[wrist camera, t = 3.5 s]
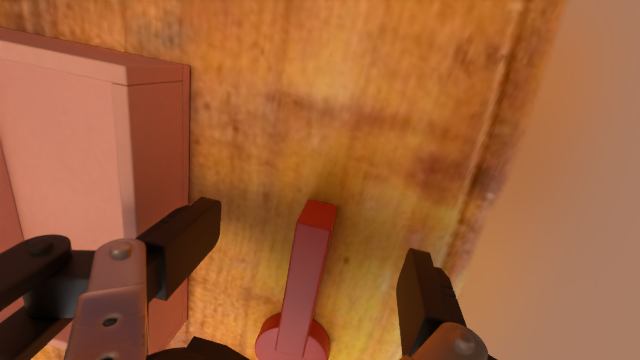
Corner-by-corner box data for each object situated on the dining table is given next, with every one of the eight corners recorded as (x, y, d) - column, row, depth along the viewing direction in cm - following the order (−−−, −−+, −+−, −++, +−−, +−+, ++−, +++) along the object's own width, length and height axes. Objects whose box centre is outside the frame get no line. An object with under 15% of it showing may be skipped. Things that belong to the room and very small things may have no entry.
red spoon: (280, 191, 14) (263, 213, 12) (366, 212, 13) (365, 238, 11) (257, 354, 18) (242, 391, 16) (323, 374, 17) (316, 414, 15)
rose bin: (-25, 21, 13) (-153, 8, 10) (190, 65, 12) (125, 66, 9) (34, 275, 19) (-37, 319, 15) (187, 319, 18) (145, 375, 15)
